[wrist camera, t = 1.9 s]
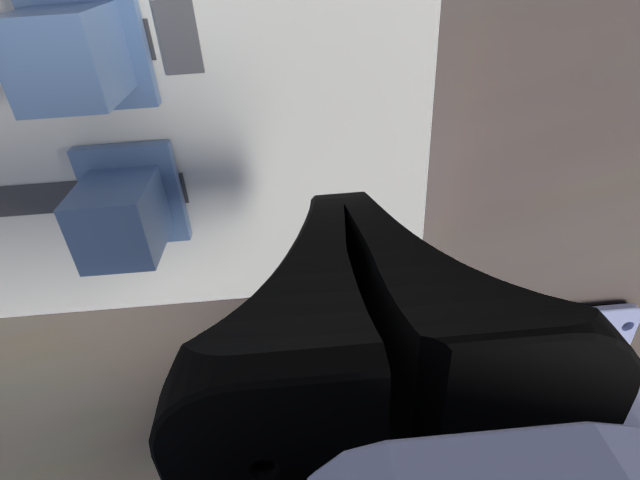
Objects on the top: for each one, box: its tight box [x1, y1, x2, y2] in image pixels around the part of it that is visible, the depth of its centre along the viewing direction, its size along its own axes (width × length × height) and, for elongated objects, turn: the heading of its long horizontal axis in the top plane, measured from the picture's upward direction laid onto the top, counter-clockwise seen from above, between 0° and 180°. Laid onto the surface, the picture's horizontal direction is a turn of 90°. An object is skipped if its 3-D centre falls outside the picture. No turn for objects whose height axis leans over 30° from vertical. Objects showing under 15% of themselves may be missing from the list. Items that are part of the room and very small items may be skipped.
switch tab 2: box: [53, 139, 193, 277], centre depth 13 cm, size 3×3×3 cm
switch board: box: [0, 0, 441, 318], centre depth 13 cm, size 15×16×2 cm
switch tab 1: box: [0, 0, 162, 121], centre depth 11 cm, size 3×3×3 cm
